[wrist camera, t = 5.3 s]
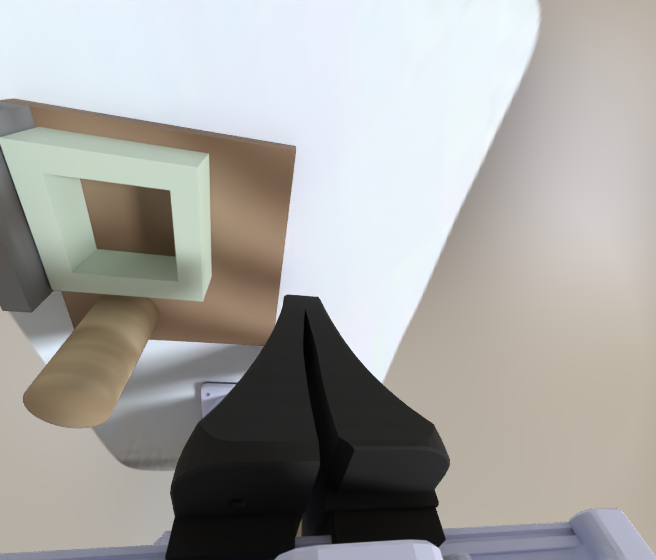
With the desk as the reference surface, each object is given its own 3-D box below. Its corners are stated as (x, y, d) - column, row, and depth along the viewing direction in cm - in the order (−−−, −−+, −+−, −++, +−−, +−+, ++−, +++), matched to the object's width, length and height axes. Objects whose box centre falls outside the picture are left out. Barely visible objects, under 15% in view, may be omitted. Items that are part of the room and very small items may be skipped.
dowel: (161, 332, 22) (117, 428, 16) (104, 329, 22) (36, 427, 16) (156, 290, 20) (103, 382, 14) (92, 285, 20) (10, 380, 14)
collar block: (211, 276, 20) (202, 301, 18) (78, 264, 19) (52, 290, 17) (209, 153, 16) (197, 167, 14) (38, 126, 15) (-3, 137, 13)
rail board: (273, 336, 25) (269, 391, 21) (84, 325, 22) (38, 385, 18) (295, 146, 17) (297, 173, 13) (13, 98, 15) (-92, 113, 11)
